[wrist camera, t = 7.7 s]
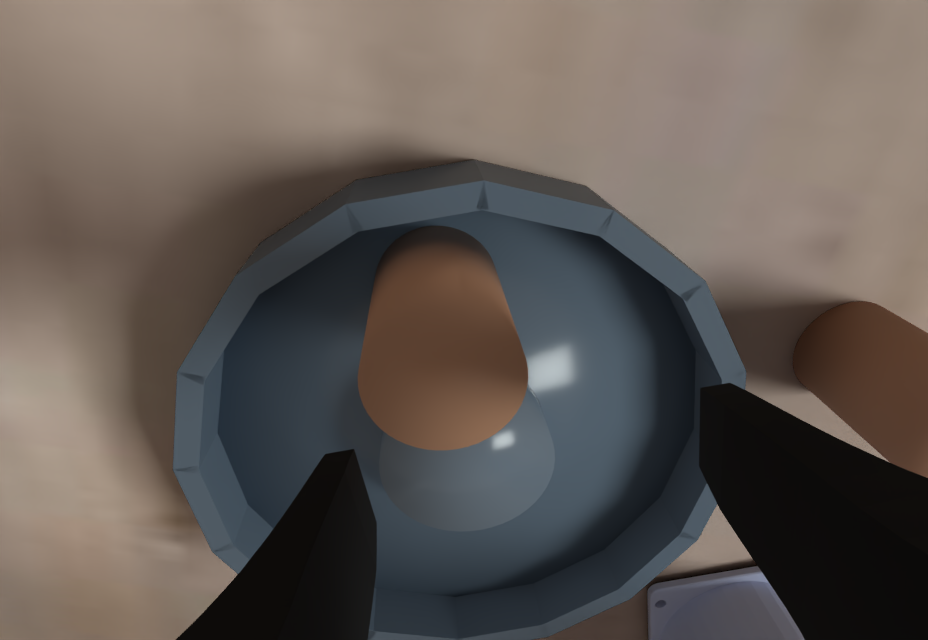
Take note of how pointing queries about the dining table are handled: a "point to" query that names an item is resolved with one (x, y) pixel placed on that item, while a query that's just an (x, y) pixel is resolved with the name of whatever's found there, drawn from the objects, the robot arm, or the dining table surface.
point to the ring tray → (500, 456)
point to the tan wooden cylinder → (440, 343)
